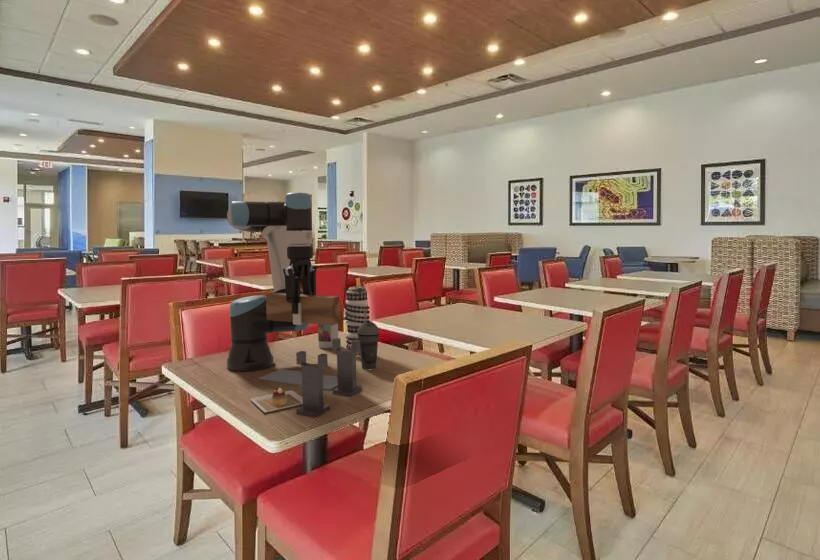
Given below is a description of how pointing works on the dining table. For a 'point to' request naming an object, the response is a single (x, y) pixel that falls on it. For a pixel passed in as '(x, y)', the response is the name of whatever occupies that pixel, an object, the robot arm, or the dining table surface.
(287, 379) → the mat
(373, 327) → the beverage cup
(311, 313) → the rail
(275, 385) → the dining table surface
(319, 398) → the standards
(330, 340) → the milk bottle
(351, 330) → the decorative candle
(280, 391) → the dessert
